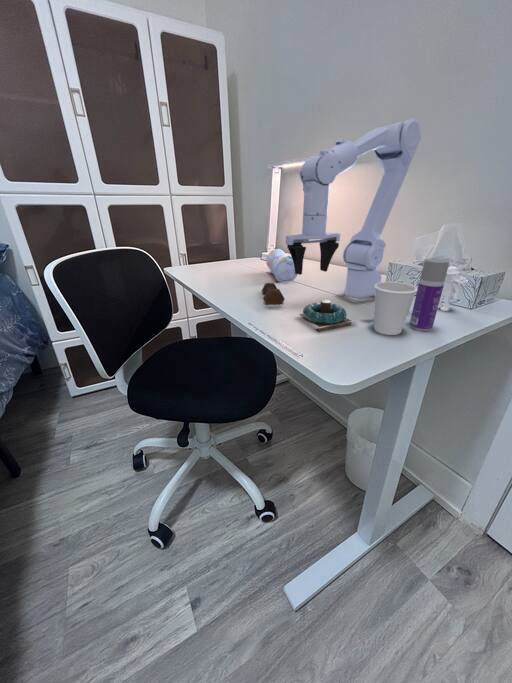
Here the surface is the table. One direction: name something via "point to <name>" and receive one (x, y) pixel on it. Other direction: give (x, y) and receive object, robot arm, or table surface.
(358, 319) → the table surface
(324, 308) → the post
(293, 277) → the pencil case
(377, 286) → the dixie cup
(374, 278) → the robot arm
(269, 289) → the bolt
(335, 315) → the ring
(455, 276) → the hat wearing toy figure
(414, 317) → the container
